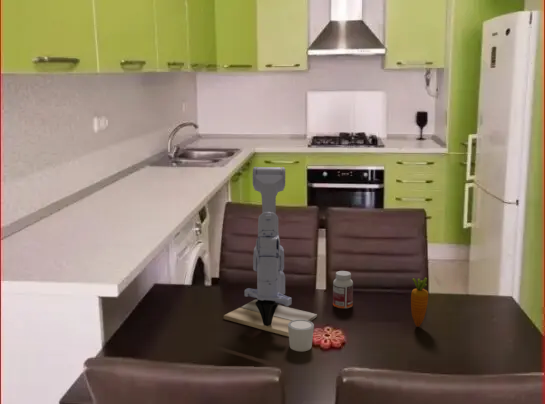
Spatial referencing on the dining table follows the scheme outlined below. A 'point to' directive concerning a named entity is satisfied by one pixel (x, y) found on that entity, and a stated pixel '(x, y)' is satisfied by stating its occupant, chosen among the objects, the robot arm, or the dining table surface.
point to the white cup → (300, 335)
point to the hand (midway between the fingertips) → (267, 324)
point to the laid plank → (284, 312)
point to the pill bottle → (343, 290)
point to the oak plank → (258, 321)
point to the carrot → (419, 301)
